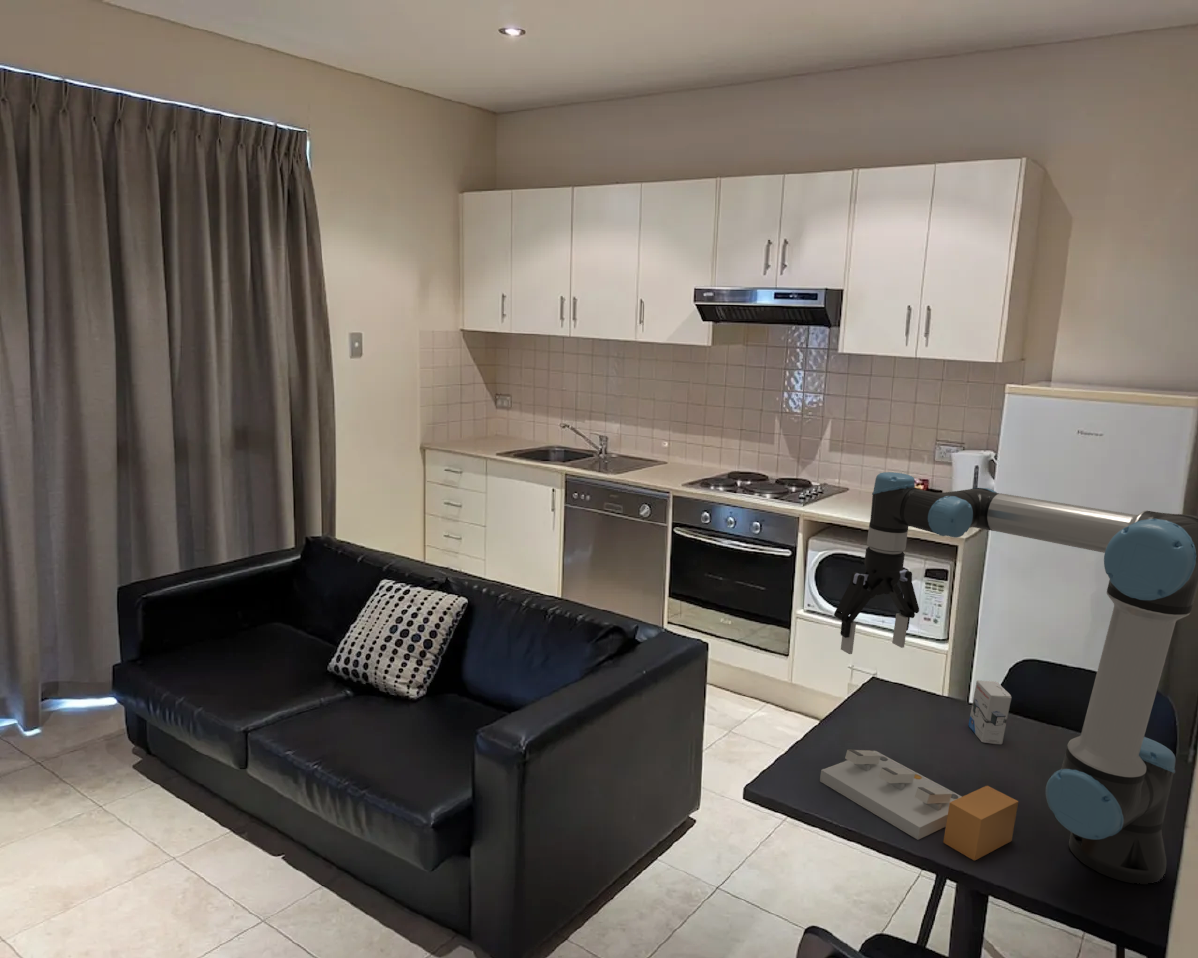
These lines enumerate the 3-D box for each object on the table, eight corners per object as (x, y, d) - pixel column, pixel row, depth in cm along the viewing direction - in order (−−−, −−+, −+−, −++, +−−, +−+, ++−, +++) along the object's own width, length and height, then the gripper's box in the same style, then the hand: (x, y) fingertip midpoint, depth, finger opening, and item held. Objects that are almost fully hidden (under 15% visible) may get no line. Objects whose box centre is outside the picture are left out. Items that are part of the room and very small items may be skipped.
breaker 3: (949, 802, 170) (952, 792, 170) (926, 803, 166) (929, 793, 166) (937, 796, 173) (940, 786, 172) (914, 796, 168) (917, 787, 168)
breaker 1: (878, 764, 183) (881, 755, 183) (855, 764, 179) (858, 754, 178) (867, 758, 186) (870, 749, 185) (844, 758, 181) (847, 749, 181)
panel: (971, 814, 172) (974, 797, 172) (917, 839, 162) (920, 821, 162) (873, 761, 190) (875, 745, 190) (819, 781, 181) (821, 764, 180)
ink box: (967, 725, 211) (974, 679, 208) (988, 727, 211) (996, 680, 208) (982, 743, 202) (990, 694, 200) (1004, 744, 202) (1012, 696, 200)
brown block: (1011, 840, 164) (1018, 801, 163) (974, 860, 157) (981, 819, 156) (980, 823, 169) (987, 785, 168) (943, 842, 162) (949, 802, 161)
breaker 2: (912, 782, 177) (915, 773, 177) (889, 783, 172) (892, 773, 172) (901, 776, 179) (904, 767, 179) (878, 776, 174) (881, 767, 174)
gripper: (919, 541, 189) (906, 636, 193) (824, 547, 178) (812, 647, 182) (946, 550, 182) (931, 649, 186) (848, 557, 172) (835, 661, 176)
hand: (872, 648), depth 184 cm, fingers open, 13 cm apart
